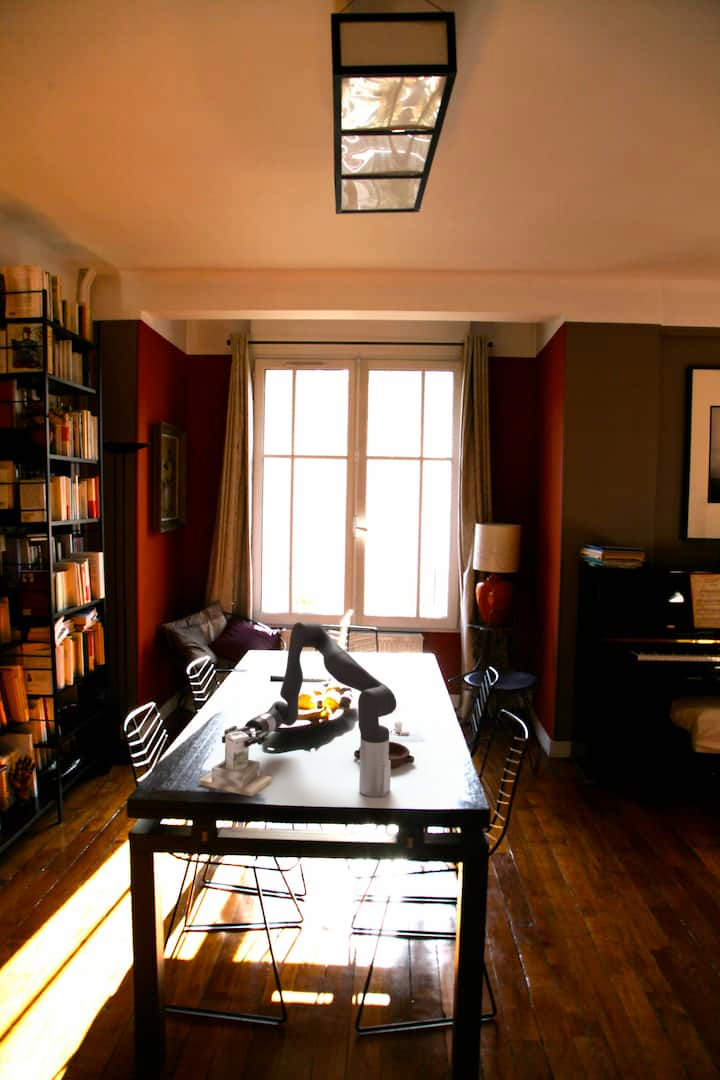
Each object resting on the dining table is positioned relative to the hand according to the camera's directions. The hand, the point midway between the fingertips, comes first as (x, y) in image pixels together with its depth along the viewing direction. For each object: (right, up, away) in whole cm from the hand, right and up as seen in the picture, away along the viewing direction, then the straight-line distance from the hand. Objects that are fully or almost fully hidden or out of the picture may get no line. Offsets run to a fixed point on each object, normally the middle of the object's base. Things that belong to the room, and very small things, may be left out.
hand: (233, 742), depth 194 cm
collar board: (0, -14, +2) cm, 14 cm away
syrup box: (0, -13, +2) cm, 13 cm away
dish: (+49, -15, +22) cm, 56 cm away
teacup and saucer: (+56, -14, +50) cm, 76 cm away
